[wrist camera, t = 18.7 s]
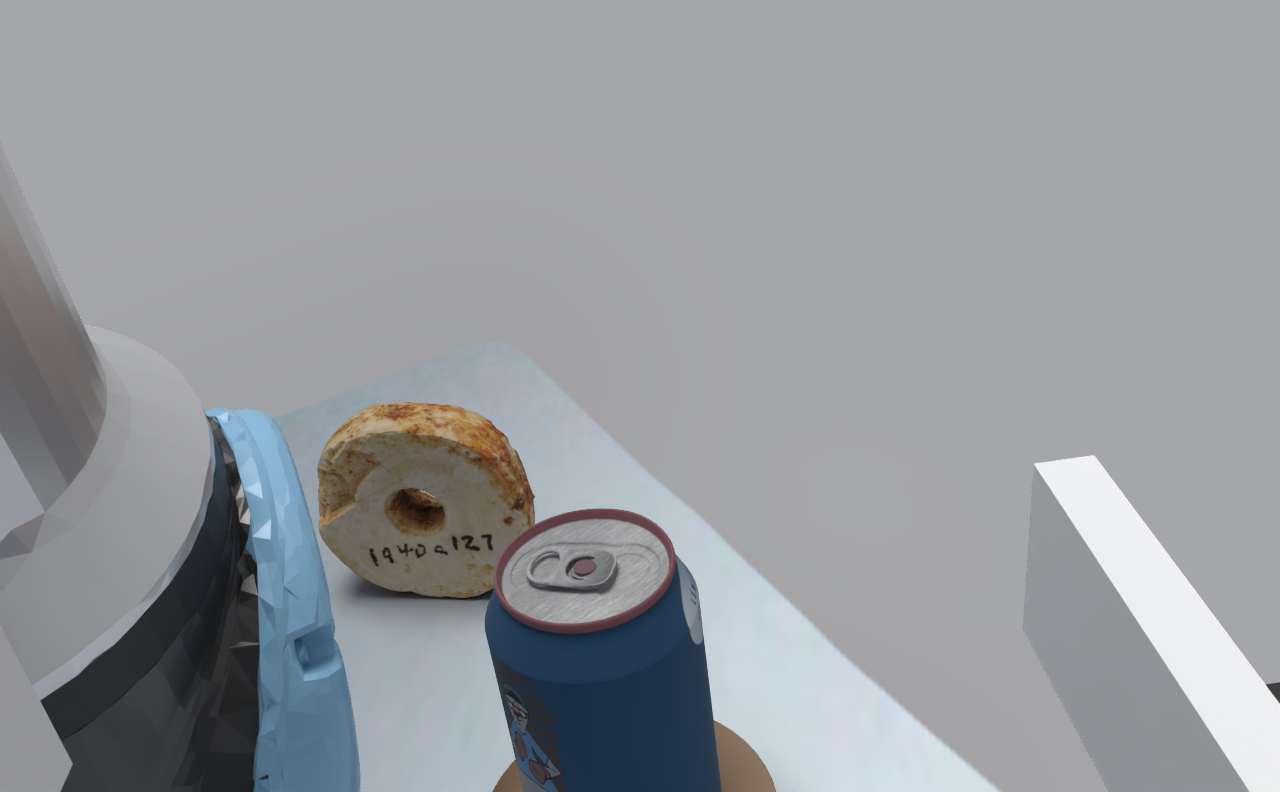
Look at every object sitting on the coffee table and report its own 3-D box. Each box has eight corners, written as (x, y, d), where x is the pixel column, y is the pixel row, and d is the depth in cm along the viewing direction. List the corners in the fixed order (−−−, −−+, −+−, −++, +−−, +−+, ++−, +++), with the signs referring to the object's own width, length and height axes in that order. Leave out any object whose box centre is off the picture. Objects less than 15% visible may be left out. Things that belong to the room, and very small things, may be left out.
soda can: (739, 755, 45) (713, 502, 39) (703, 917, 39) (667, 649, 33) (566, 736, 47) (516, 491, 40) (509, 887, 41) (440, 629, 35)
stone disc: (558, 558, 58) (525, 385, 53) (539, 609, 55) (501, 430, 50) (364, 552, 60) (314, 386, 55) (335, 600, 57) (279, 429, 52)
